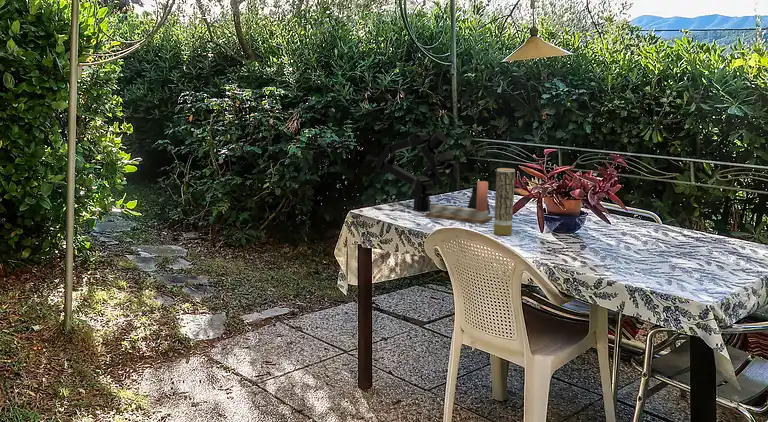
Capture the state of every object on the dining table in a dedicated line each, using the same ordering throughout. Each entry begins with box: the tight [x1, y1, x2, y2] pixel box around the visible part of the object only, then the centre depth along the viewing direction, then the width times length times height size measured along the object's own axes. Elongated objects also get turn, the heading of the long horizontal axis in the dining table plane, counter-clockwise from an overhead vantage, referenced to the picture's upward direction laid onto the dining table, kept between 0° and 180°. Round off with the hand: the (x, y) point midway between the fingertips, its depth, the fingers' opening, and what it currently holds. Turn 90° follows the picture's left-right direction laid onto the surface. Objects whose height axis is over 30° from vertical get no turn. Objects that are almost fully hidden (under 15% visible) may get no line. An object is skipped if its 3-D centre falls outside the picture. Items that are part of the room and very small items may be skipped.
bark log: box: [493, 167, 516, 237], centre depth 249 cm, size 7×7×25 cm
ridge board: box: [425, 203, 493, 225], centre depth 278 cm, size 26×10×4 cm, turn 62°
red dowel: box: [476, 180, 489, 212], centre depth 272 cm, size 4×4×12 cm
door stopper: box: [466, 186, 491, 215], centre depth 289 cm, size 9×6×12 cm, turn 39°
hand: (450, 184), depth 281 cm, fingers open, 9 cm apart
